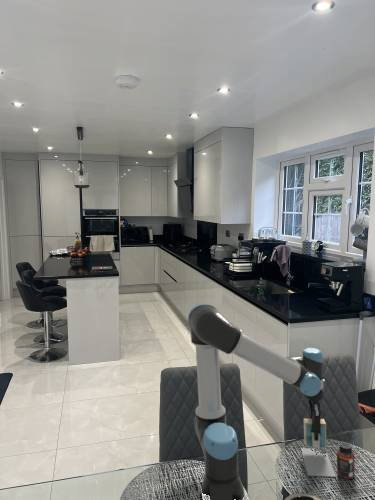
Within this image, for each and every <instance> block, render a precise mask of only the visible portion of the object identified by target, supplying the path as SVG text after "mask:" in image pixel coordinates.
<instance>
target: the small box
mask: <svg viewBox="0 0 375 500" xmlns="http://www.w3.org/2000/svg"><path fill="white" fill-rule="evenodd" d="M320 426H321V434H319V436H320V448H319V447H315V449H326V448H327V423H326V421H325V418H320ZM311 430H313V427H312V419H309V418H303V442H304V446H305V448H314V447H313V446H312V432H311Z"/></svg>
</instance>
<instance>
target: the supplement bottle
mask: <svg viewBox="0 0 375 500" xmlns="http://www.w3.org/2000/svg"><path fill="white" fill-rule="evenodd" d="M355 464H356V463H355V452H354V451H353V450H352V445H351V444H350V443H348V442H345V441H344V442H340V443H339V447H338V449H337V450H336V471H337V474H338V475H339V477H341V478H343V479H345V480H351V479H354V477H355V471H356V470H355Z"/></svg>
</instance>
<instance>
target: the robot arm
mask: <svg viewBox="0 0 375 500" xmlns="http://www.w3.org/2000/svg"><path fill="white" fill-rule="evenodd" d="M187 324H188V325H189V327H190V342H191V344H192V345H194V347H195V355H196V356H195V357H196V358H195V359H196V374H197V376H196V377H197V378H196V379H197V392H198V393H197V396H198V405H197V406H196V408H195V416H194V420H193V423H194V424H193V426H194V430H195V433H196V436H197V437H198V442H199V443H200V447H201V450H202V452H203V457H204V476H203V480H202V484H201V486H202V487H200V489H201V488H202V493H203V494H206V495H209V496H210V499H211V500H234V499H236V500H242V499H243V497H244V498H245V489H244V486H243V485H244V484H243V483H242V480H241V477H240V475H239V449H238V448H239V440H238V435H237V432H236V430H235V429H234V428H233V427H232V426H231V425H227V414H226V413H227V412H226V411H227V410H226V407H225V406H224V405H223V404H222V392H221V373H220V355H219V354H220V352H219V351H221V352H223V353H224V354H227V355H231V354H233V355H235V356H237V357H238V358H241V359H242V360H244V361H246V362H248V363H250V364H252V365H254V366H255V367H257V368H259V369H261V370H263V371H265V372H267V373H269V374H271V376H274V377H276V378H278V379H280V380H282V381H284V382H286V383H287V384H289V385H291V386H293V387H294V388H296V389H298V390H300V392H301V393H302V394H303V396H304V398H305V399H307V404H308V419H312V427H313V430H311V432H312V446H313V447H312V448H316V447H319V448H318V449H321V448H320V436H319V434H321V426H320V419H321V413H322V411H321V410H320V408H321V403H320V401H322V400H323V399H324V397H325V396H324V395H325V394H324V383H326V382H325V379H324V358H323V357H324V356H323V352H322V351H321V350H320V349H319V348H315V347H306V348H304V349H303V350H302V354H301V355H296V356H295V355H294V356H287V357H286V356H283V355H282V354H280V353H278V352H277V351H275V350H273V349H271V348H270V347H267V346H266V345H264V344H262V343H261V342H258V341H256V340H255V339H253V338H251V337H249V336H247V335H246V334H244V333H243V332H242V329H241V328H239V327H237V325H235V324H233V323H232V322H230V321H229V320H228V319H227V318H226V317H225V316H224V315H223V314H222V313H220V312H219V311H218V309H217V308H216V307H215V306H213V305H212V304H209V303H198V304H197V305H195V306H193V307H191V309H190V311H189V313H188V316H187Z"/></svg>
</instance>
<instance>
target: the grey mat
mask: <svg viewBox="0 0 375 500" xmlns="http://www.w3.org/2000/svg"><path fill="white" fill-rule="evenodd" d="M311 449H312V450H313V451H312V450H311ZM314 449H315V448H309V447H305V448H304V447H301V448H300V451H302V452H301V455H302V458H303V463H304V467H305V470H306V474H307V476H308V477H309V476H310V477H321V476H322V477H321V478H323V477H324V478H325V477H326V478H336V477H337V475H336V473H335V470H334V467H333V465H332V462H331V459H330V456H329V454H328V452H327V453H326V454H325V455H326V456H327V457H324V458H325V459H324V458H322V457H323V455H322V454H320V452H319V453H318V454H317V455H316V453H315V452H314ZM316 452H318V451H316ZM318 455H321V456H322V457H321V456H318ZM315 456H316V457H315Z"/></svg>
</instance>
